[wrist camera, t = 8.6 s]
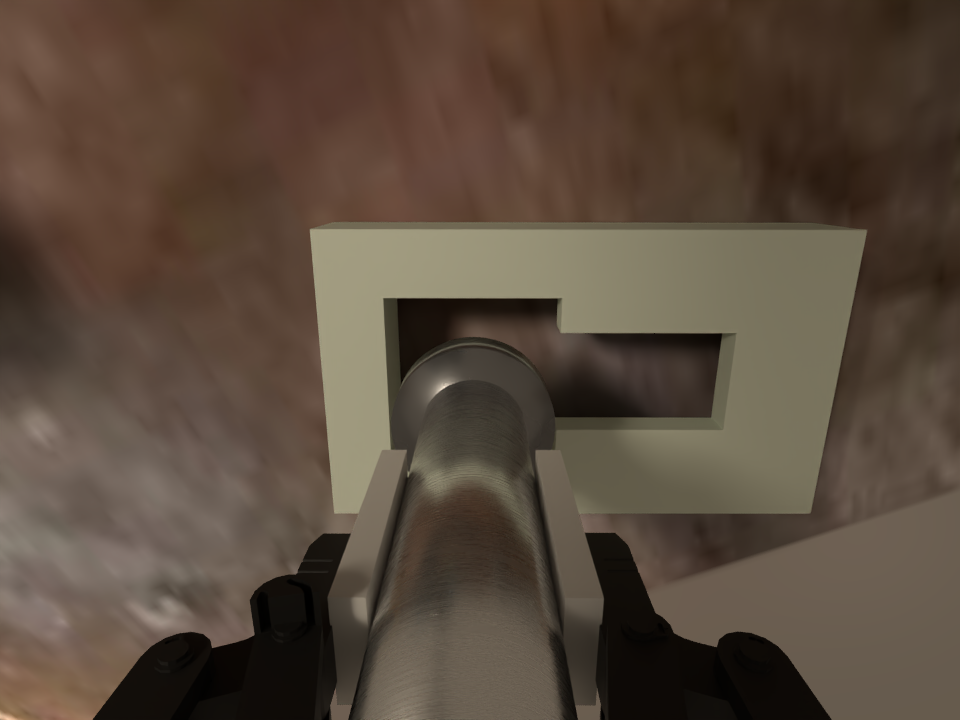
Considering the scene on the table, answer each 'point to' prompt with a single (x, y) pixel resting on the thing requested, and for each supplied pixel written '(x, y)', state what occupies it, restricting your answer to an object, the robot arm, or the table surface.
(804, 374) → the keyhole plate
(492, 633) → the headed peg
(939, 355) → the table surface
